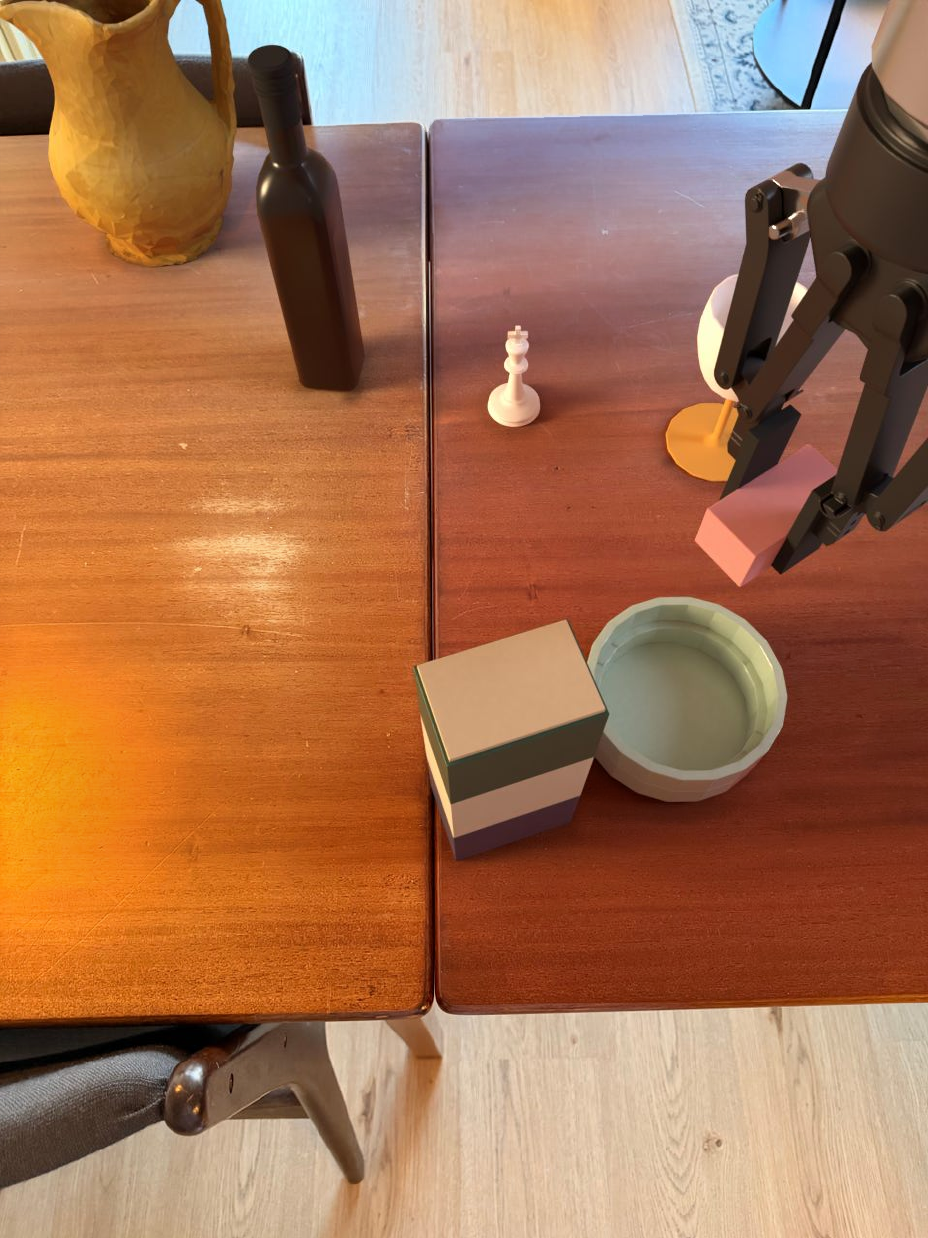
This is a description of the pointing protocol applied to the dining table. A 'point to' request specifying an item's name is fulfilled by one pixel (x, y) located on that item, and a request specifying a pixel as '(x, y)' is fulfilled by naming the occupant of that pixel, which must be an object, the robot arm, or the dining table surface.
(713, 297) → the cup
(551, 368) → the dining table surface
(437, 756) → the book stack
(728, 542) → the eraser
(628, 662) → the bowl
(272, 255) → the wine bottle
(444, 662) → the felt pad
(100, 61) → the pitcher
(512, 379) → the chess piece
